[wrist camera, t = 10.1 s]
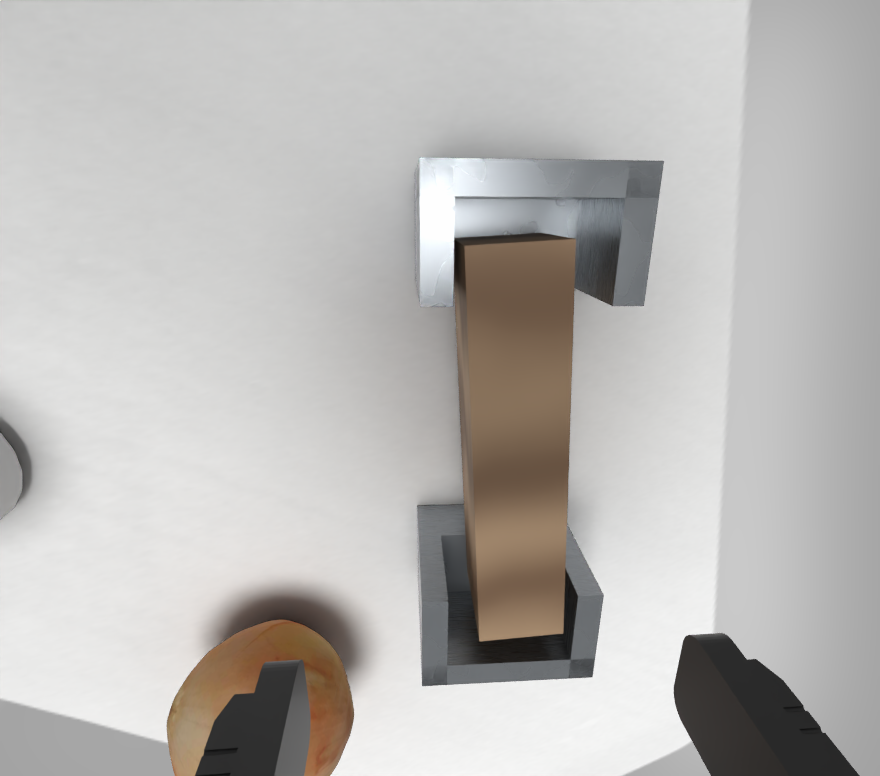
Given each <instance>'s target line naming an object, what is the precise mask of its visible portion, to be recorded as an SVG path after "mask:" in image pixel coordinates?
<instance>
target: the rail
mask: <svg viewBox="0 0 880 776" xmlns="http://www.w3.org/2000/svg"><path fill="white" fill-rule="evenodd" d="M575 252H576V239H573V238H568V237H562V236H557V235H551V234H546V233H527V234H510V235H494V236H478V237H461V238H454V292H455V314H456V336H457V358H458V380H459V402H460V425H461V447H462V469H463V491H464V513H465V535H466V557H467V573H468V579H469V584H470V590H471V596H472V602H473V607H474V613H475V619H476V625H477V630H478V636H479V641H490V640H500V639H511V638H521V637H531V636H542V635H552V634H563V628H564V596H565V565H566V534H567V502H568V471H569V440H570V409H571V377H572V346H573V315H574V283H575Z"/></svg>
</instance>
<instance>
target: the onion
mask: <svg viewBox="0 0 880 776" xmlns="http://www.w3.org/2000/svg"><path fill="white" fill-rule="evenodd" d="M287 660H303V662H304V668H305V676H306V683H307V691H308V699H309V707H310V721H311V722H310V741H309V749H308V755H307V761H306V767H305V773H304V776H330V775H331V774H332V772H333V771H334V769H335V767H336V766H337V764H338V762H339V760H340V758H341V755H342V753H343V750H344V748H345V746H346V743H347V741H348V739H349V736H350V733H351V729H352V725H353V719H354V708H353V702H352V695H351V691H350V687H349V684H348V680H347V675H346V673H345V670H344V667H343V664H342V661H341V659H340V657H339V656H338V654H337V653H336V651H335V650H334V649H333V647H332V646H331V645H330V643H329V642H328V641H326V640H325V639H324V638H323V637H322V636H321V635H319V634H318V633H316V632H315V631H313V630H311V629H310V628H308V627H307V626H305V625H302V624H299V623H296V622H293V621H289V620H285V619H280V620H272V621H267V622H264V623H261V624H258V625H255V626H252V627H249V628H247V629H244V630H242V631H240V632H238V633H236V634H234V635H233V636H231V637H230V638H228V639H227V640H225V641H224V642H223V643H221V644H220V645H218V646H217V647H215V648H214V649H212V650H211V651H209V652H208V653H207V654H206V655H205V656H204V657H203V658H202V660H201V661H200V662H199V663H198V664H197V666H196V667H195V668H194V669H193V670H192V671H191V673H190V674H189V676H188V677H187V678H186V680H185V681H184V683H183V685H182V686H181V688H180V689H179V691H178V693H177V695H176V696H175V699H174V701H173V703H172V706H171V709H170V712H169V716H168V720H167V736H168V745H169V751H170V756H171V761H172V766H173V770H174V774H175V776H195V774H196V771H197V768H198V766H199V763H200V760H201V757H202V756H203V755H204V749H205V746H206V743H207V740H208V737H209V735H210V732H211V729H212V726H213V723H214V720H215V719H216V718H217V716H218V715H219V714H220V713H221V711H222V710H223V709H224V707H225V706H226V705H227V703H228V702H229V701H230V699H231V698H232V697H233V696H234V694H246V693H254V692H255V688H256V685H257V681H258V678H259V675H260V671H261V668H262V666H263V664H264V663H265V662H272V661H287Z"/></svg>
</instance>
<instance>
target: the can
mask: <svg viewBox="0 0 880 776" xmlns="http://www.w3.org/2000/svg"><path fill="white" fill-rule="evenodd" d="M21 492H22V469H21V466H20V464H19V461H18V458H17V456H16V453H15V451H14V450H13V448H12V447H11V445H10V444H9V443H8V441H7V440H6V439H5V437H4V436H3V435H2V434H1V433H0V520H1V519H2V518H3V517H4V516H5V515H6V514H8V513H9V512H10V511H11V510H12V509H13V508H14V507H15V506H16V503H17V501H18V499H19V497H20V494H21Z"/></svg>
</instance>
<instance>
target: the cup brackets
mask: <svg viewBox="0 0 880 776" xmlns="http://www.w3.org/2000/svg"><path fill="white" fill-rule="evenodd" d="M663 164H664V161H631V160H562V159H494V158H426V157H420V158H419V161H418V164H417V167H416V171H415V263H416V284H417V290H418V296H419V302H420V307H453V287H454V238H461V237H478V236H494V235H510V234H527V233H546V234H551V235H557V236H562V237H568V238H573V239H576V252H575V283H574V288H575V289H578V290H580V291H582V292H584V293H586V294H588V295H590V296H592V297H595V298H597V299H599V300H601V301H603V302H605V303H607V304H609V305H612V306H644V301H645V293H646V286H647V279H648V272H649V265H650V257H651V250H652V243H653V236H654V228H655V221H656V214H657V207H658V200H659V192H660V185H661V178H662V171H663ZM417 522H418V590H419V616H420V642H421V668H422V686H432V685H452V684H471V683H490V682H509V681H528V680H547V679H566V678H586V677H592V675H593V668H594V661H595V654H596V647H597V639H598V632H599V625H600V618H601V611H602V603H603V596H604V595H603V593H602V591H601V589H600V587H599V585H598V583H597V581H596V579H595V577H594V575H593V573H592V571H591V570H590V568H589V566H588V564H587V562H586V560H585V558H584V556H583V554H582V552H581V550H580V548H579V546H578V544H577V542H576V540H575V539H574V537H573V535H572V533H571V531H570V529H569V527H568V525H567V534H566V565H565V596H564V628H563V634H552V635H542V636H531V637H521V638H511V639H500V640H490V641H479V636H478V630H477V625H476V619H475V613H474V607H473V602H472V596H471V590H470V584H469V579H468V573H467V557H466V535H465V513H464V505H432V506H417Z"/></svg>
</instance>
